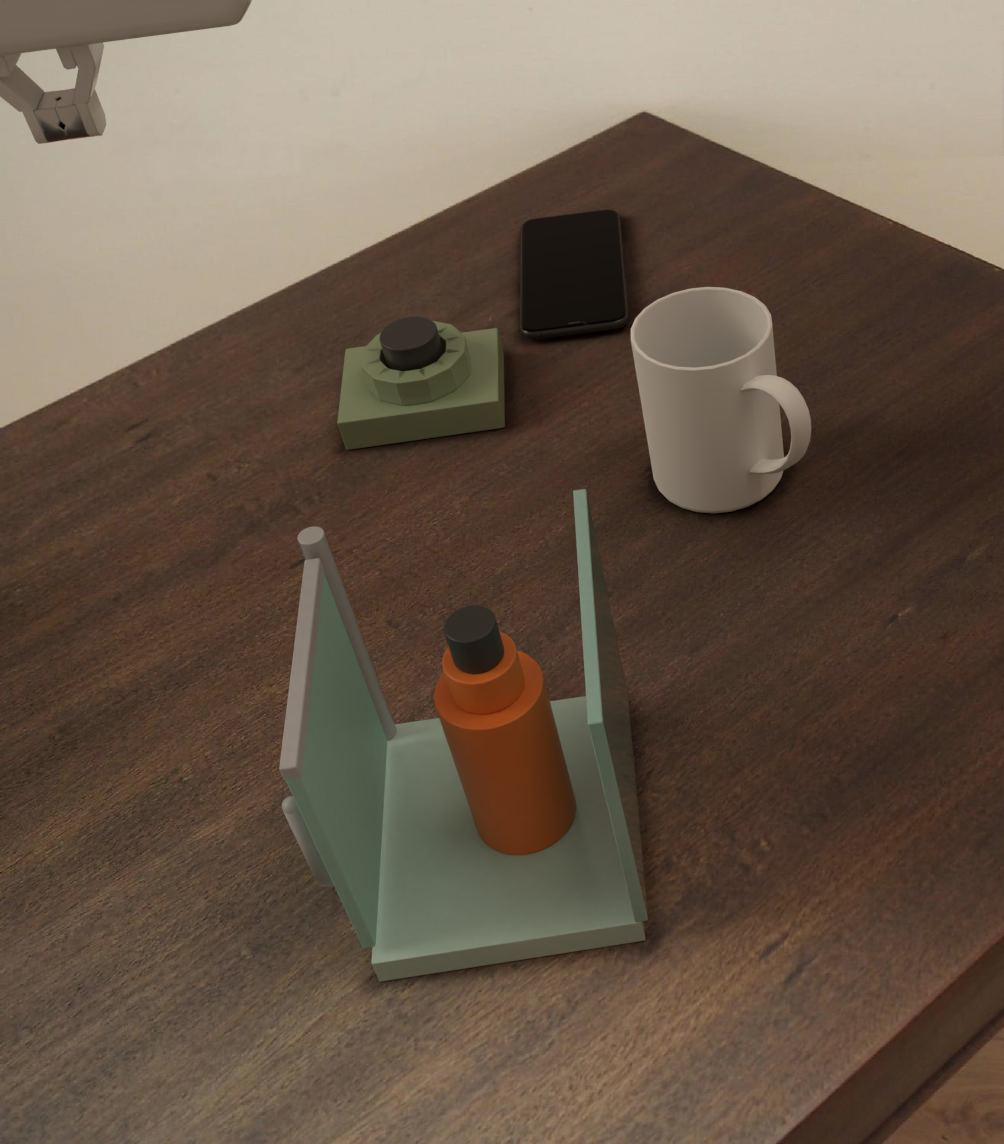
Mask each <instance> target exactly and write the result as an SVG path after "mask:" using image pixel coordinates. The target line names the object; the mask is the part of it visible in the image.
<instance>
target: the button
mask: <svg viewBox="0 0 1004 1144" xmlns="http://www.w3.org/2000/svg"><path fill="white" fill-rule="evenodd" d="M433 321H434V320H432V319H430V318H428V317H424V316H417V315H416V316H407V317H402V318H399V319H397V320H394V321H392V322H390V323H389V324H387V325H386V326H385V327H384V328H383V329H382V330H381V332H380V333H381V334H380V333H379V334H380V338H379V339H380V343H381V347H382V350H383V353H384V357H385V360H386V363H387V365H388V366H389V367H390V368H392V369H393V370H398V371H410V370H417V369H422V368H424V367H426V366H428V365H431V364H433V363H435V362H437V361H438V360H439V358H440V357H441V355H442V352H443V348H442V344H441V341H440V337H439V333H438V329H437V326H436V324H435V323H434V322H433Z"/></svg>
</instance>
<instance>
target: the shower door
mask: <svg viewBox="0 0 1004 1144" xmlns="http://www.w3.org/2000/svg"><path fill="white" fill-rule="evenodd" d="M303 563H304V564H303V569H302V577H301V578H302V579H301V585H300V586H301V587H300V594H299V603H298V611H297V619H296V627H295V635H294V644H293V650H292V651H293V652H292V659H291V660H292V661H291V669H290V677H289V686H288V694H287V701H286V702H287V703H286V708H285V709H286V711H285V716H284V717H285V718H284V726H283V734H282V743H281V751H280V759H279V768H278V769H279V772H280V774H281V777H282V778H283V780H284V781H283V782H286V784H287V786H288V789H289V791H290V793H291V795H289V796H287V797H286V798H284V799H283V801H282V803H281V809H282V812H283V814H284V816H285V818H286V820H287V823H288V825H289V827H290V828H291V831H292V834H293V835H294V838H295V840H296V842H297V844H298V847H299V848H300V851H301V852H302V854H303V856H304V859H305V861H306V863H307V864H308V868H309V869H310V871H311V873H312V876H313V878H314V880H315V882H316V884H317V885H318V886H320V887H323V888H326V887H329V886H332V884H333V887H334V889H335V891H336V893H337V895H338V897H339V900H340V902H341V904H342V906H343V908H344V911H345V912H346V915H347V917H348V920H349V922H350V923H351V925H352V929H353V930H354V932H355V934H356V936H357V939H358V941H359V944H360V945H361V947H362V949H366V948H372V947H374V946H375V945H376V930H377V913H378V896H379V878H380V861H381V844H382V826H383V809H384V792H385V774H386V757H387V738H386V736H385V733H384V730H383V728H382V725H381V722H380V720H379V717H378V714H377V712H376V709H375V706H374V704H373V701H372V698H371V696H370V693H369V691H368V688H367V685H366V683H365V680H364V677H363V675H362V672H361V669H360V667H359V664H358V661H357V659H356V656H355V653H354V651H353V648H352V646H351V643H350V640H349V638H348V635H347V632H346V630H345V627H344V624H343V622H342V619H341V616H340V614H339V611H338V608H337V606H336V603H335V601H334V598H333V595H332V593H331V590H330V587H329V585H328V582H327V579H326V577H325V574H324V568H323V566H322V563H321V560H320V559H319V558H316V559H309V560H305V559H304V562H303Z"/></svg>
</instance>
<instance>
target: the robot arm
mask: <svg viewBox="0 0 1004 1144" xmlns="http://www.w3.org/2000/svg"><path fill="white" fill-rule="evenodd" d="M252 1H253V0H0V98H1V99H2V100H4V101H5V102H6V103H7V104H8V105H10V106H11V107H13V108H14V110H16V111H17V112H20V113H22V114H23V118H24V119H25V121H26V123H27V126H28V128H29V130H30V132H31V135H32V137H33V139H34V141H35V142H36V143H37V144H38V145H42V144H50V143H55V142H61V141H68V140H70V141H71V140H77V139H86V138H87V139H88V138H94V137H102V136H103V134H104V132H105V129H106V126H107V119H106V114H105V111H104V108H103V106H102V103H101V101H100V98H99V95H98V93H97V91H96V86H97V83H98V78H99V73H100V69H101V64H102V58H103V54H104V48H105V44H104V43H109V42H118V41H125V40H133V39H140V38H141V39H142V38H149V37H155V36H163V35H171V34H179V33H187V32H193V31H201V30H202V31H203V30H209V29H216V28H224V27H231V26H235V25H239V23H241V21H242V20H243V18H244V17H245V15H246V13H247V11H248V10H249V8H250V6H251V4H252ZM49 50H56V53H57V55H58V58H59V60H60V62H61V64H62V67H63V68H64V69H66V70H72V69H73V70H74V69H76V68H77V74H76V78H75V79H76V80H75V84H74V85H75V86H74V87H73V88H67V89H61V90H60V89H59V90H51V91H45V90H44V89H43V88H41V86H40V85H38V84H37V83H36V82H35V81H34V80H33V79H32V78H31V77H30V76H29V75H28V74H27V73H26V72H25V71H24V70H23V69H21V68H20V67H19V66H18V65H17V63H18V61H19V60H20V57H21V56H22V54H25V53H26V54H28V53H33V52H42V51H49Z"/></svg>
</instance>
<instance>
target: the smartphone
mask: <svg viewBox="0 0 1004 1144" xmlns="http://www.w3.org/2000/svg"><path fill="white" fill-rule="evenodd" d="M519 229H520V231H519V234H520V235H519V237H520V238H519V239H520V240H519V243H520V244H519V305H518V307H519V332H520V334H521V336H522V337H523V338H525V339H527V340H532V341H533V340H542V339H543V340H544V339H551V338H559V337H566V336H573V335H581V334H589V333H597V332H605V331H612V330H613V331H614V330H619V329H621V328H623V327H624V326H626V325H627V324H628V323H629V319H630V313H629V312H630V311H629V301H628V299H629V297H628V284H627V278H626V277H627V276H626V266H625V256H624V255H625V254H624V243H623V242H624V241H623V231H622V218H621V215H620V213H619V212H618V211H616V210H615V209H597V210H591V211H582V212H575V213H566V214H559V215H551V216H544V217H542V216H541V217H535V218H530V219H528V220H525V221H523V223H522V224H521V226H520V228H519Z"/></svg>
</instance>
